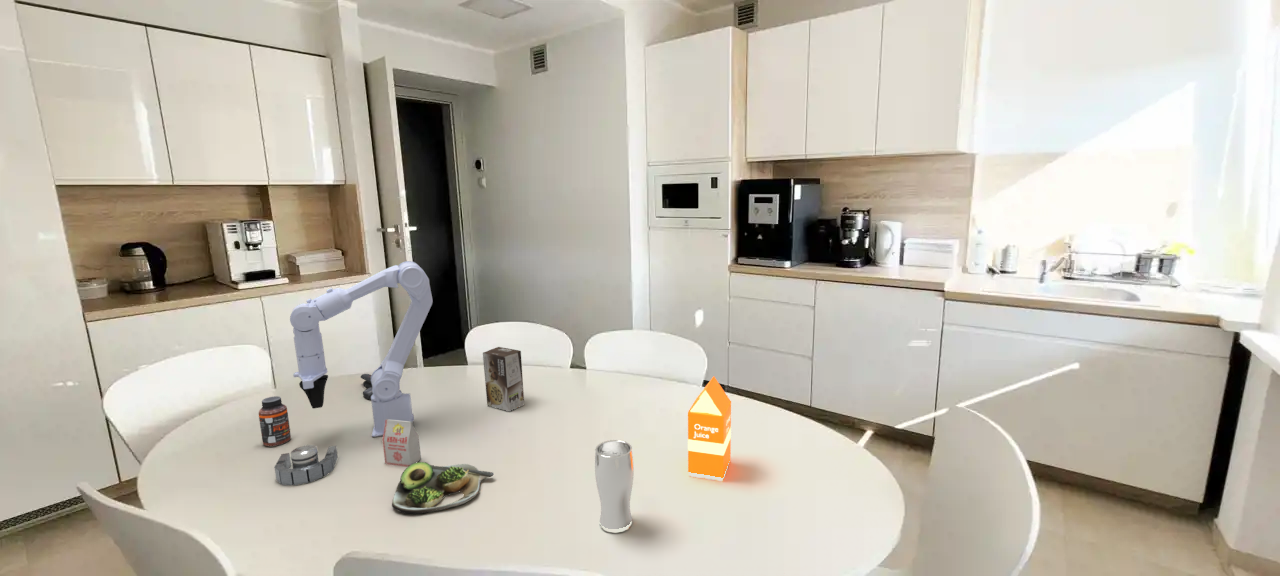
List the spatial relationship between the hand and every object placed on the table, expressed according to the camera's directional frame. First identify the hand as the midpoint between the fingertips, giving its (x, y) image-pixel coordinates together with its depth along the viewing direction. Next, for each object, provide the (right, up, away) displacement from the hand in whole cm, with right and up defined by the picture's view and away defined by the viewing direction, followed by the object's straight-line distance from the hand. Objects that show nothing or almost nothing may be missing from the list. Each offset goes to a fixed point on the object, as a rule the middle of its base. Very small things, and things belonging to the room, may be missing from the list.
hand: (317, 407), depth 135 cm
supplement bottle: (-12, -10, +3) cm, 15 cm away
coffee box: (+40, -5, +23) cm, 47 cm away
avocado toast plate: (+37, -13, -21) cm, 44 cm away
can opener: (-4, -3, +36) cm, 37 cm away
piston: (+4, -12, -12) cm, 17 cm away
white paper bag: (+24, -11, -8) cm, 28 cm away
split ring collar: (+5, -12, -12) cm, 18 cm away
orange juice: (+94, -11, -15) cm, 96 cm away
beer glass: (+74, -15, -33) cm, 83 cm away
